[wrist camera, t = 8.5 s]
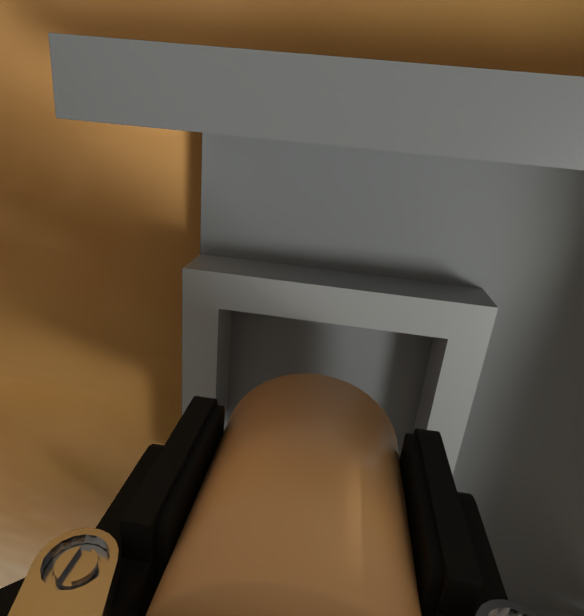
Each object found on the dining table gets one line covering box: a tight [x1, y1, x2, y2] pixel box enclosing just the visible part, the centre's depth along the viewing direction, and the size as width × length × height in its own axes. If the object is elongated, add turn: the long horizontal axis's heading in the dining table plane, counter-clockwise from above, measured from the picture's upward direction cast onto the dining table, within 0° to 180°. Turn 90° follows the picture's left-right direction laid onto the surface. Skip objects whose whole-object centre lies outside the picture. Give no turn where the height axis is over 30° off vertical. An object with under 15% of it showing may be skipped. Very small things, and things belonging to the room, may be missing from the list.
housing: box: [48, 33, 584, 616], centre depth 12 cm, size 15×17×7 cm
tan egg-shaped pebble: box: [146, 373, 421, 616], centre depth 9 cm, size 4×4×6 cm
